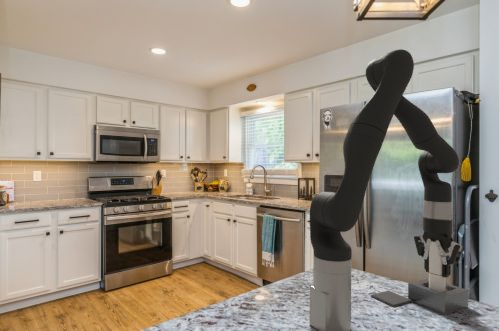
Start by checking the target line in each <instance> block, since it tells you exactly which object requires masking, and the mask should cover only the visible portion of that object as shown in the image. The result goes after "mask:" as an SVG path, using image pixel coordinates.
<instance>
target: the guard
mask: <svg viewBox="0 0 499 331" xmlns="http://www.w3.org/2000/svg"><path fill="white" fill-rule="evenodd" d="M407 285H408V286H407V295H408V296H407V298H408V299H411V300H412V302H413V303H415V304H417V305H419V306H422V307H425V308H427V309H430V310H432V311H435V312H437V313H440V314H441V315H444V316H446V315H450V314H451V313H454V312H459V311H461V310H464V309H467V308H469V290H468V289H466V288H463V287H460V286H456V285H453V284H451V283H447V282H446V292H443V293H442V292H439V291H436V290H433V289H430V288H429V278H426V279H421V280H417V281H412V282H408V283H407ZM412 302H411V303H412Z"/></svg>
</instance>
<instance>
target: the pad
mask: <svg viewBox="0 0 499 331" xmlns="http://www.w3.org/2000/svg"><path fill="white" fill-rule="evenodd" d="M370 297H371V298H373V299H375V300H378V301H380V302H382V303H384V304H386V305H389V306H391V307H392V308H394V307H397V306H402V305H406V304H409V303H412V300H411V299H408V297H405V296H403V295H402V294H401V295H400V294H398V293H397V292H393V291H391V290H386V291H382V292H381V291H380V292H377V293H373V294H372V293H371V294H370Z"/></svg>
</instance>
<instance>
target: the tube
mask: <svg viewBox="0 0 499 331" xmlns="http://www.w3.org/2000/svg"><path fill="white" fill-rule="evenodd" d="M444 253H446V251H444ZM442 264H443V262H442V258H441V256H440V255H439V251H438V247H437V246H436V242H434V241H431V244H430V248H429V272H428V279H429V288H430V289H433V290H436V291H439V292H442V293H443V292H446V283H447V280H446V279H447V277H446V278H445V277H442Z"/></svg>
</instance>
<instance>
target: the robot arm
mask: <svg viewBox="0 0 499 331" xmlns="http://www.w3.org/2000/svg"><path fill="white" fill-rule="evenodd" d="M414 68H415V64H414V58H413V55H412V54H411V53H410V52H409V51H408V50H405V49H401V48H400V49H395V50H392V51H389V52H387V53H385V54H382V55H380V56H378V57H376V58H374V59H372V60H371V61H369V62H368V64H367V66H366V67H365V78H366V80H367V83H368V84H369V86H370V88H371V89H372V90H373V91H374V94H373V95H372V97H370V98H369V100H368V101H367V102H365V104H364V105H363V106H362V107H361V109H360V110H359V111H358V112H357V113H356V114H355V116H354V118H352V121H351V122H350V125H349V127H348V129H347V132H346V134H345V137H344V140H343V145H342V150H343V151H342V152H343V153H342V154H343V159H344V160H343V161H344V172H343V176H342V179H341V181H340V184H339V186H338V189H337V191H336V192H333V191H321V192H319V193H317V194H316V195H314V196H313V198H312V200H311V202H310V208H309V234H310V235H309V236H310V238H309V239H310V243H311V247H312V250H313V260H312V261H313V266H312V267H313V270H312V275H313V276H312V285H310V287H309V325H310V326H312V327H313V328H314V329H316V330H317V331H351V329H352V264H353V263H352V259H353V258H352V257H353V256H352V254H353V253H352V247H351V246H350V244H349V243H348V242H347V241H346V240H345V239H344V237H343V236H342V233H346V232H349V231H350V230H352V229H353V228H354V227H355V226H356V224H357V222H358V220H359V218H360V215H361V212H362V207H363V204H364V199H365V196H366V193H367V192H366V191H367V188H368V184H369V181H370V178H371V175H372V173H373V169H374V167H375V164H376V162H377V159H378V155H379V153H380V152H381V149H382V146H383V143H384V140H385V138H386V136H387V132H388V130H389V126H390V124H391V122H392V120H393V116H395V118H396V119H397V120H398V121H399V123H400V125H401V126H402V128H403V129H404V131H405V132H406V134H407V136H408V138H409V140H410V142H411V144H412V145H413V147H414V148H415V149H417V150H419V151H423V152H421V154H420V155H419V158H418V161H417V166H418V171H419V175H420V178H421V180H422V181H421V182H422V185H423V188H424V189H423V190H424V192H423V200H424V201H423V206H422V207H423V208H422V231H423V234H422V235H415V236H413V239H414V244H415V248H416V251H417V255H418V256H420V257H421V258H423V260H424V263H423V265H424V270H425V272H427V273H429V248H430V244H431V241H434V242H436V246H437V247H438V251H439V255H440V256H441V258H442V262H443V264H442V277H445V278H446V279H447V278H449V277H450V276H451V273H452V271H451V269H452V268H451V266H452V265H455V264H458V263H459V262H460V260H461V256H462V252H463V250H464V248H465V247H464V244H463V243H458V242H456V241H454V239H453V228H454V227H453V222H454V221H453V219H454V218H453V217H454V215H453V212H454V211H453V204H452V203H453V200H452V196H453V195H452V193H453V192H452V191H453V190H452V184H451V183H450V182H448V181H445V180H441V179H440V177H439V174H450V173H454V172H456V171H457V169H458V168H459V164H460V158H459V155H458V154H457V152H456V150H455V149H454V148H453V147H452V145H451V144H449V143H448V142H447V141H446V140H445V139H444V138H443V137H442V135H441V136H440V134H439V133H438V131H437V129H436V127H435V125H434V124H433V121H432V120H431V118H430V116H428V114H427V113H426V112H425V111H424V110H422V109H421V108H420V107H419V106H417V105H416V104H414V103H413V102H411V101H410V100H409V99H407V97H405V96H404V95H403V94H404V93H405V91H406V89H407V87H408V85H409V84H410V81H411V79H412V77H413V73H414ZM450 247H451V250H452V251H450ZM444 251H446V253H444Z"/></svg>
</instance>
